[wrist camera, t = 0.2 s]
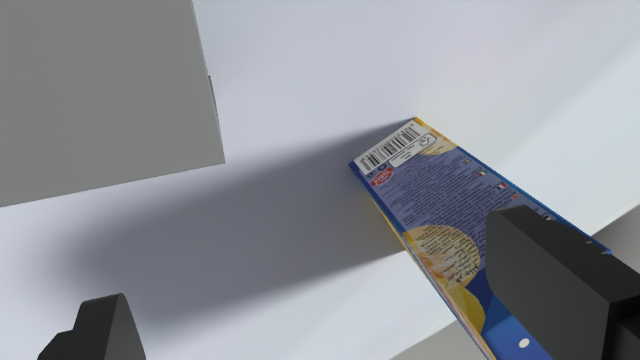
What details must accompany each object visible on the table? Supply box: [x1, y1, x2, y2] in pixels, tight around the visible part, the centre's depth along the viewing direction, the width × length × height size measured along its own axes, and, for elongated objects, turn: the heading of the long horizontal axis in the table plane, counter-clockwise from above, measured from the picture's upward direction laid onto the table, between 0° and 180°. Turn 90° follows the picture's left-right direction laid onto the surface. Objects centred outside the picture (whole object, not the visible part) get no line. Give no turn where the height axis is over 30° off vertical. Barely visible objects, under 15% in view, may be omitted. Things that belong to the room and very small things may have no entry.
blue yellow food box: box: [348, 117, 613, 360], centre depth 35 cm, size 7×11×22 cm, turn 33°
